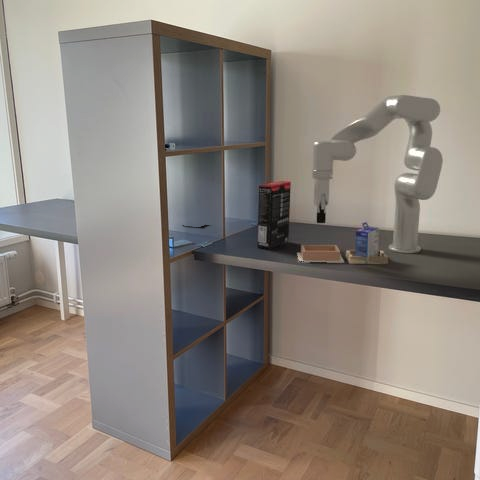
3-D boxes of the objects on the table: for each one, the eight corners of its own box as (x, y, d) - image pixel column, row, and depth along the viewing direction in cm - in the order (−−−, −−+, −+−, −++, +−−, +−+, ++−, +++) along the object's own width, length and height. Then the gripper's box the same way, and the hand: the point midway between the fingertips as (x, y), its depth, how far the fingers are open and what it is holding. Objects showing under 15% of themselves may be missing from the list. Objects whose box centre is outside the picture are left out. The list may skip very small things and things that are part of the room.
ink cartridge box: (364, 256, 195) (366, 220, 192) (378, 258, 192) (380, 221, 189) (353, 261, 188) (355, 224, 184) (367, 264, 184) (369, 226, 181)
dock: (296, 254, 199) (297, 244, 198) (339, 255, 198) (340, 244, 197) (298, 263, 187) (299, 252, 186) (344, 263, 186) (344, 252, 185)
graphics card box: (276, 240, 223) (277, 180, 216) (290, 242, 219) (291, 181, 213) (256, 248, 209) (257, 184, 202) (271, 251, 205) (271, 185, 199)
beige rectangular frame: (345, 257, 195) (346, 250, 194) (381, 257, 194) (382, 250, 194) (349, 264, 185) (350, 256, 185) (387, 265, 185) (388, 257, 184)
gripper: (310, 172, 192) (309, 218, 197) (314, 177, 178) (312, 226, 182) (330, 172, 192) (328, 218, 196) (335, 177, 177) (333, 226, 182)
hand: (320, 222), depth 189 cm, fingers closed
